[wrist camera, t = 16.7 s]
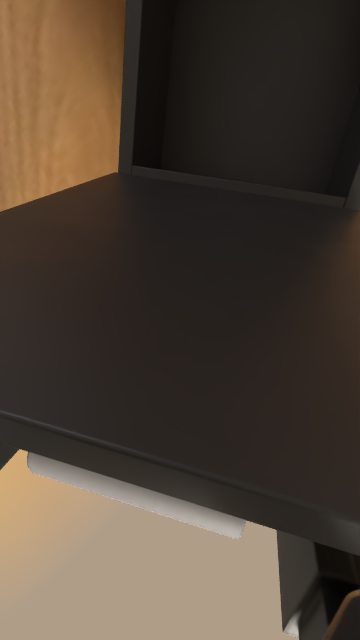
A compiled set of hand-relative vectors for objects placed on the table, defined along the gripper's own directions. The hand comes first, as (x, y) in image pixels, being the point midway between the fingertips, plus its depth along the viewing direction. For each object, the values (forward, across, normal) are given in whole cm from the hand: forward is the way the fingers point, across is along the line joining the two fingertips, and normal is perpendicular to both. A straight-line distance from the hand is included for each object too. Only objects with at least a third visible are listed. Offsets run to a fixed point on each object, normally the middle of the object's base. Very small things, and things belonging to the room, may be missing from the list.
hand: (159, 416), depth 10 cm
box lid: (+4, 0, -5) cm, 6 cm away
